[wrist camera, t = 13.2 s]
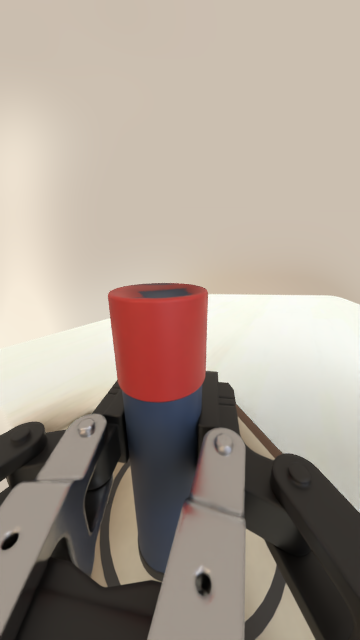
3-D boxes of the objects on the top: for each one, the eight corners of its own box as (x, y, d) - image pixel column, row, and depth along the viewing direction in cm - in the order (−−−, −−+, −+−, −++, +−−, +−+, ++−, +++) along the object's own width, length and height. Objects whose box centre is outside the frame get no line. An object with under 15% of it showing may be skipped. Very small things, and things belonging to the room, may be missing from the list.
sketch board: (227, 401, 23) (228, 393, 23) (435, 631, 9) (443, 619, 9) (68, 449, 18) (66, 440, 18) (-36, 1205, 4) (-56, 1226, 3)
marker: (185, 493, 12) (185, 281, 8) (211, 562, 9) (228, 293, 6) (132, 516, 11) (105, 285, 7) (144, 601, 8) (110, 303, 5)
